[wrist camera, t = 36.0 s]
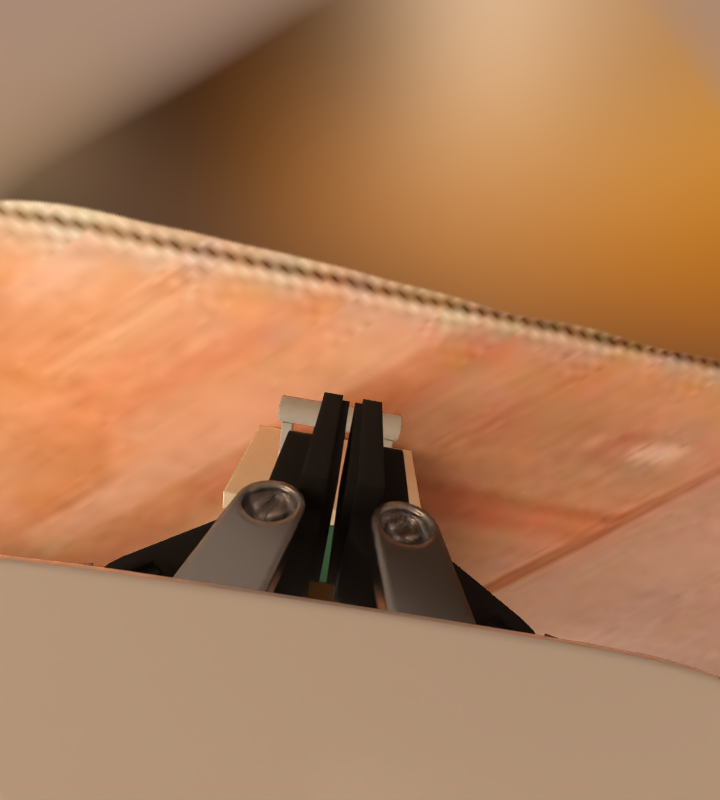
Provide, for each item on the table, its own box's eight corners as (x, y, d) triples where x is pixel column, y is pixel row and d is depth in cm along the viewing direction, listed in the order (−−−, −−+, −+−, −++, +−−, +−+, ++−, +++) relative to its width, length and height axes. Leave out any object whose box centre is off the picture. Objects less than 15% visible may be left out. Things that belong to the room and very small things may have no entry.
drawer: (264, 361, 27) (226, 412, 20) (428, 390, 27) (448, 450, 20) (248, 558, 34) (216, 646, 27) (376, 577, 35) (377, 669, 28)
